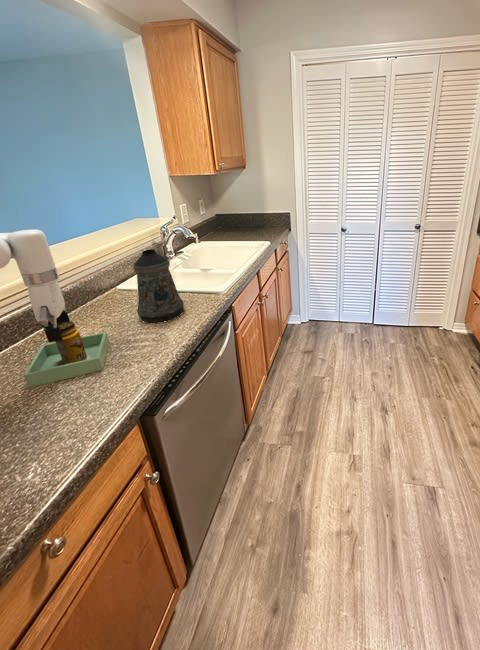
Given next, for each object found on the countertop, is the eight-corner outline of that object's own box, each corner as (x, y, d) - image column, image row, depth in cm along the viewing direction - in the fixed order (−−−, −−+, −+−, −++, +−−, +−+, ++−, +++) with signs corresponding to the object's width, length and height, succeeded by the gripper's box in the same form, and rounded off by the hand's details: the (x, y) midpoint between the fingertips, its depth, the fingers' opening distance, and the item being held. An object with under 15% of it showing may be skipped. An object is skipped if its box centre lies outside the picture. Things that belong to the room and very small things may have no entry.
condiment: (92, 358, 98) (81, 323, 93) (61, 373, 91) (46, 336, 87) (82, 351, 102) (70, 317, 97) (51, 364, 95) (37, 329, 91)
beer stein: (151, 328, 114) (134, 261, 105) (129, 313, 127) (112, 252, 117) (192, 312, 126) (180, 250, 116) (169, 299, 138) (156, 242, 128)
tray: (29, 387, 87) (23, 375, 85) (46, 356, 101) (42, 344, 100) (102, 370, 93) (98, 358, 91) (109, 342, 107) (106, 331, 106)
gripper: (34, 269, 93) (53, 322, 99) (11, 289, 78) (35, 350, 84) (65, 265, 95) (81, 317, 102) (48, 284, 80) (68, 344, 87)
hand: (60, 332), depth 93 cm, fingers open, 9 cm apart
